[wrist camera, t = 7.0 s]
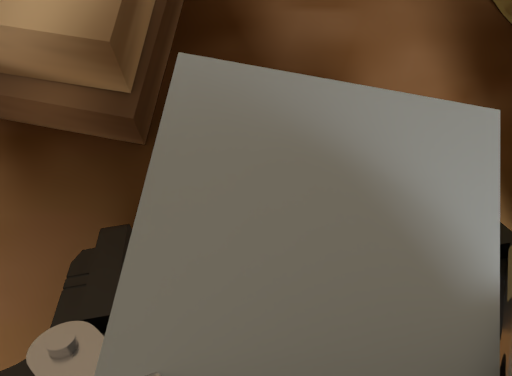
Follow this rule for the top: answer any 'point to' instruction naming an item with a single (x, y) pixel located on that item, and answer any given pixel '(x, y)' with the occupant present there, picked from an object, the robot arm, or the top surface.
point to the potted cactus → (505, 8)
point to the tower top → (74, 40)
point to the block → (310, 233)
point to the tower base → (98, 91)
